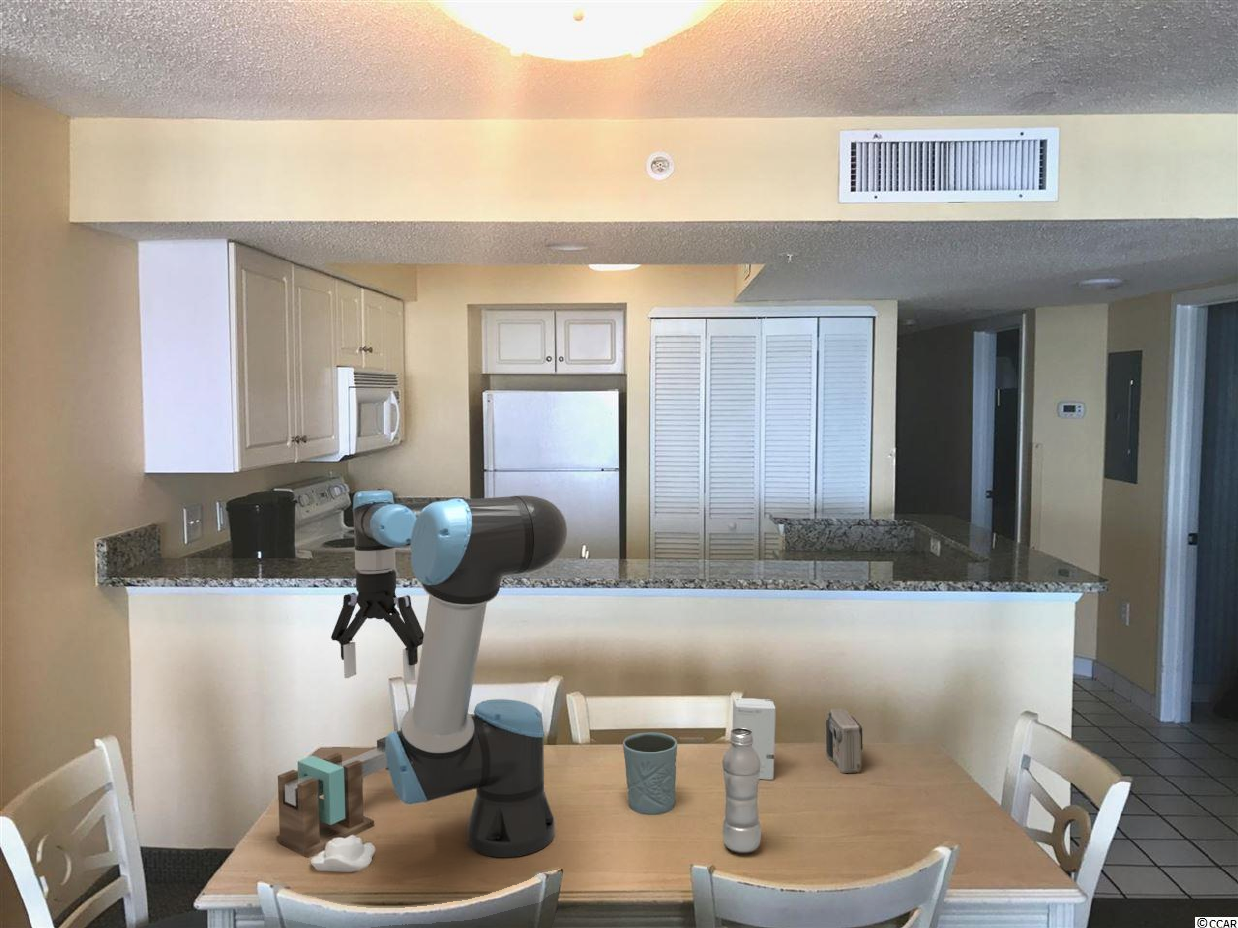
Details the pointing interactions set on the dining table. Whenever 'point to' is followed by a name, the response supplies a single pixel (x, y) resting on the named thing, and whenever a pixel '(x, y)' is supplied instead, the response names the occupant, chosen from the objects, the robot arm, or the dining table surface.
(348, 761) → the shaft
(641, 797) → the drinking glass
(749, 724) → the skincare box
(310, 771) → the block
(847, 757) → the camera
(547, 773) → the dining table surface
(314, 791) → the block
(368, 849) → the white cowboy hat
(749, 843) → the plastic bottle
